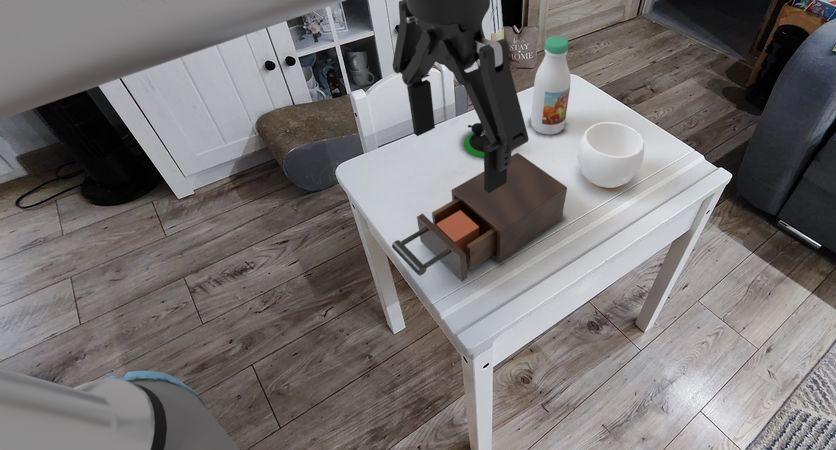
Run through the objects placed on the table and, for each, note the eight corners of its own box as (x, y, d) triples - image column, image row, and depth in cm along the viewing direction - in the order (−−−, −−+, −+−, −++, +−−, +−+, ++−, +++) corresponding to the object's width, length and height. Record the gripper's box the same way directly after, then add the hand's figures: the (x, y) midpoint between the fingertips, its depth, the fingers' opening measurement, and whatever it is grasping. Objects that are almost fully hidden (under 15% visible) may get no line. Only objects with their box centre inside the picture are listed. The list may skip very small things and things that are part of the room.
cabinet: (499, 263, 78) (500, 231, 72) (453, 221, 84) (451, 189, 78) (561, 219, 85) (567, 187, 79) (515, 184, 91) (517, 152, 85)
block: (456, 261, 75) (454, 242, 71) (438, 243, 78) (435, 224, 74) (479, 246, 77) (479, 226, 74) (461, 229, 80) (460, 209, 76)
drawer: (430, 304, 71) (425, 280, 66) (389, 260, 76) (383, 235, 72) (525, 237, 80) (528, 212, 76) (483, 203, 86) (483, 177, 81)
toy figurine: (487, 124, 104) (487, 102, 100) (518, 144, 100) (520, 121, 95) (454, 142, 99) (452, 120, 95) (485, 164, 95) (485, 142, 91)
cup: (564, 163, 96) (571, 125, 88) (617, 153, 98) (627, 115, 91) (589, 203, 88) (598, 165, 81) (646, 191, 90) (659, 153, 83)
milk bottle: (527, 132, 103) (534, 47, 88) (533, 113, 108) (541, 29, 93) (561, 138, 102) (574, 52, 87) (566, 118, 107) (579, 34, 92)
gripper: (586, -3, 35) (555, 197, 50) (401, -80, 47) (422, 101, 62) (514, 25, 31) (504, 231, 47) (334, -66, 43) (375, 121, 59)
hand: (457, 157), depth 55 cm, fingers open, 13 cm apart
